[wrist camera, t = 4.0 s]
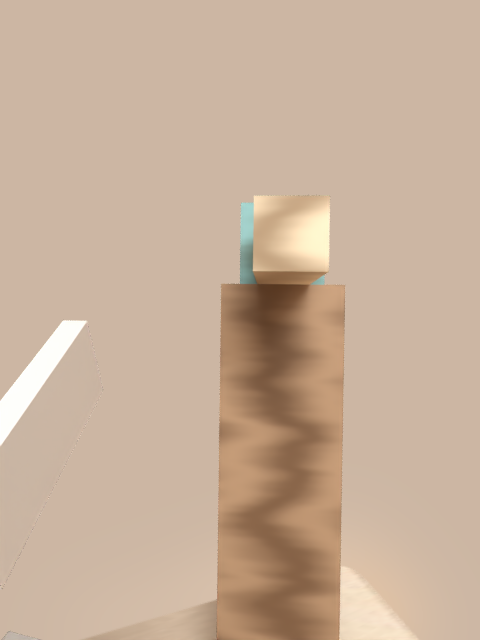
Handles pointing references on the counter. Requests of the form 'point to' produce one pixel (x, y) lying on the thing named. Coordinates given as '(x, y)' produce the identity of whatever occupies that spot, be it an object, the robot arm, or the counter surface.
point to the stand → (280, 461)
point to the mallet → (285, 240)
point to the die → (17, 637)
